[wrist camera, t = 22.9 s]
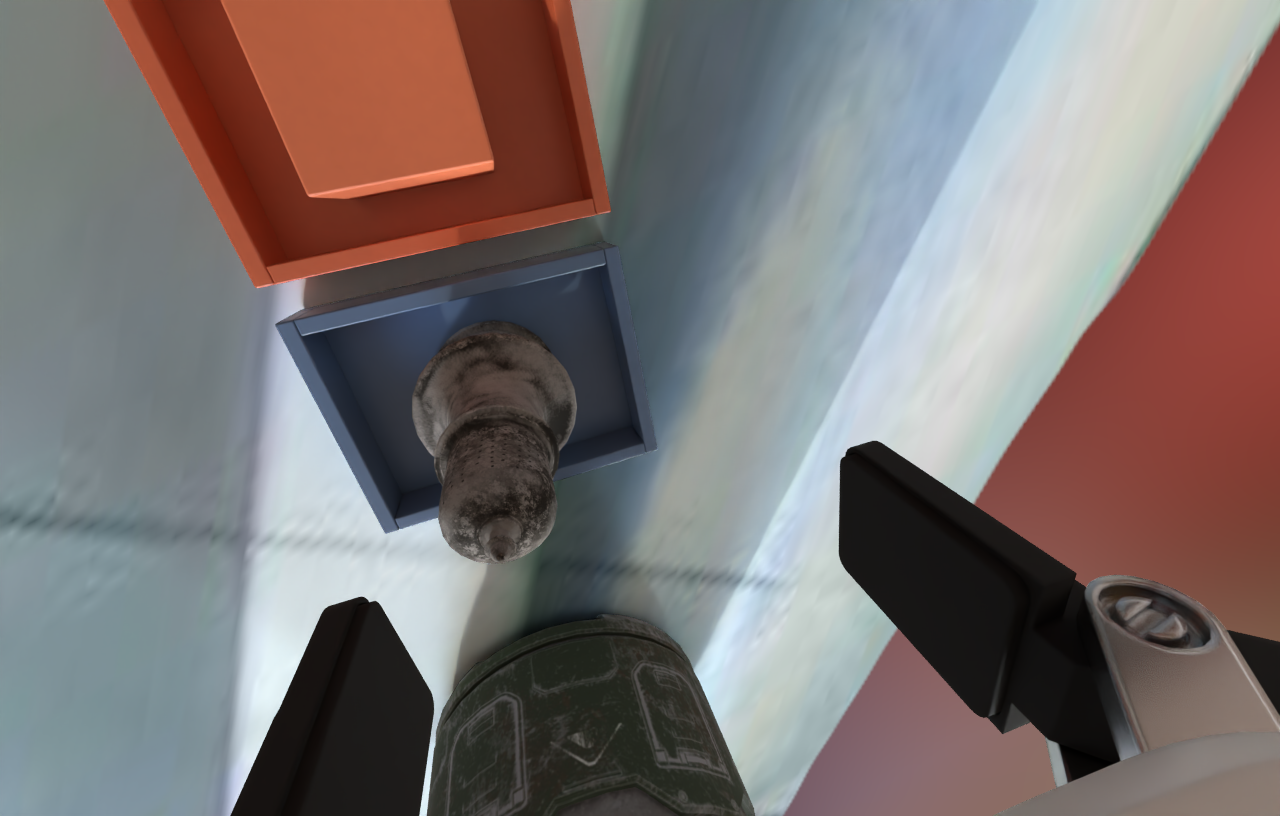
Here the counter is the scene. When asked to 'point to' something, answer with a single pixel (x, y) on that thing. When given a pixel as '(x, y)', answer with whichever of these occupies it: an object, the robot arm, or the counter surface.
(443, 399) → the dark chess piece
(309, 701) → the robot arm
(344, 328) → the blue tray
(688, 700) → the canister
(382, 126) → the terracotta block
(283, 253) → the terracotta tray
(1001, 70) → the counter surface
